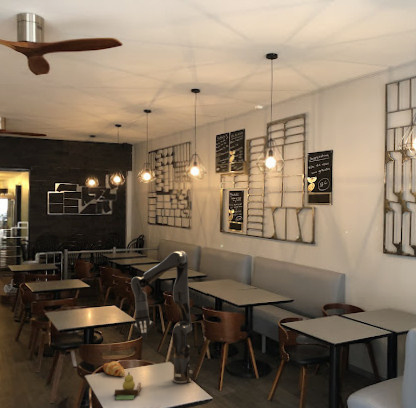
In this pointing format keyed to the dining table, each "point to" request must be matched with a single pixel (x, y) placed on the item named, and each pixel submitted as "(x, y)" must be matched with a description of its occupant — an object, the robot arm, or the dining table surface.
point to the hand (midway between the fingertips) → (144, 339)
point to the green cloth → (125, 397)
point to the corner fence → (128, 391)
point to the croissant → (114, 368)
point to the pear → (128, 382)
